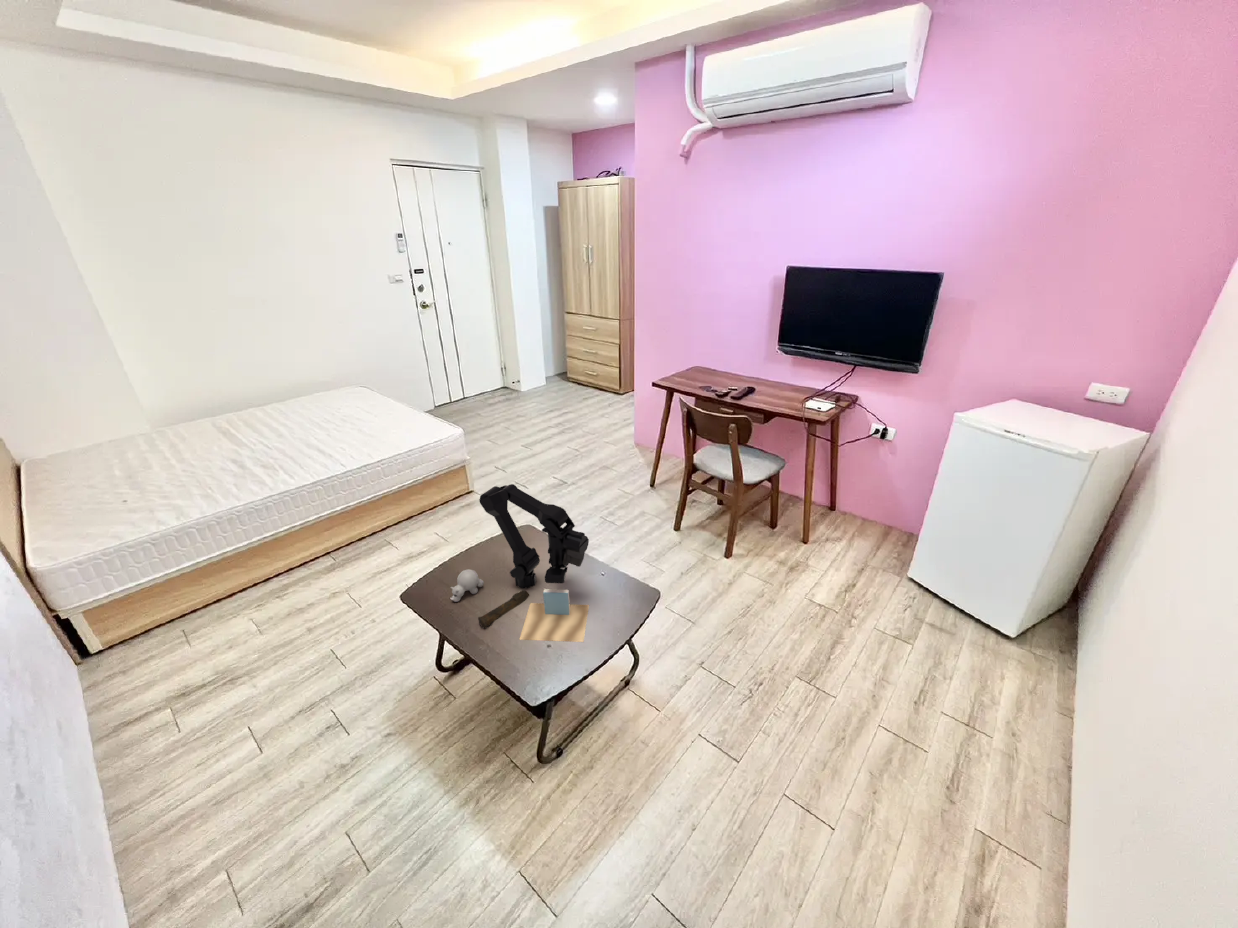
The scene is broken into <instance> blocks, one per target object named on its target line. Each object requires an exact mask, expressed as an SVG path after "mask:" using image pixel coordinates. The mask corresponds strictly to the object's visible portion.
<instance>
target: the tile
mask: <svg viewBox="0 0 1238 928" xmlns="http://www.w3.org/2000/svg"><path fill="white" fill-rule="evenodd" d="M542 594H543V603H544V606H545V614H557V615H569V614H570V603H571V602H570V590H569V589H552V588H550V589H548V588H545V589H543V593H542Z"/></svg>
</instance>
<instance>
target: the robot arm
mask: <svg viewBox="0 0 1238 928" xmlns="http://www.w3.org/2000/svg"><path fill="white" fill-rule="evenodd" d="M478 502H479V504H480V505H481V507H482V508H483V510H484V511H485V513H486V514H488V515H490V516H492V517H494V520H495V521H496V523H497V525H498V527H499V528H500V531H501V532H502V534H503V536H504V538H505V540H506V541H507V543H508V546H509V547H510V549H511V551H512V553H513V554H512V555H513V556H512V560H513V561H512V563H513V565H514V567H513V568H512V569H511V570H510V571H509V574H510V577H511V578H514V581H515V587H518V588H520V589H529V588H530V587H535V586H536V583H537V575H536V573H535V568H537V566H539V564H540V561H541V560H540V555H539V554H538V551H537V550H536V548H535V547H530V546H528V545H527V544H526V542H525V540H524V538H523V536H522V535H521V533H520V531H519V529H518V527H517V525H516V523H515V521H514V519H513V517H512V516H511V513H510V512H509V510H508V503H509V502H510V503H511V504H514V505H515V506H516V507H519V508H520V509H522V510H524V511H526V512H527V513H528V514H530V515H532V516H534V517H535V518H537V520H538V522H539V524H540V525H541V526H543V528H542V529H541V532H543V533H545V534H547V538H548V539H547V540H548V541H547V542H548V548H547V554H549V559H548V564H549V565H551V566H549V568H548V569H546V571H545V575H544V582H545V584H564V583H565V581H566V576H567V575H566V574H567V572H568V566H569V564H571V565H573V566H575V567H577V568H578V567H581V566H582V563H583V561H584V560H585V559H584V557H585V553H586V551H587V549H588V547H589V542H590V540H589V538H588V536H587V535H586V533H585V532H582V531H576V530H573V529H574V528H575V526H576V524H575V523H574V522H573V520H572V519H571V517H570V516H569V515H568V512H567V511H566V509H564V508H563V507H561V506H558V505H556V504H550V503H549V504H548V503H545V502H542V501H541V500H539V499H537V498H535V497H534V496H532V495H531V494H528V493H526V492H525V491H524V490H521V489H520V488H518V487H517V486H516V485H515V484H513V483H511V484H510V483H509V484H508V485H506V484H505V485H502V486H497V485H496V486H495V485H494V486H493V487H491V488H489V489H488V490H487V491H485V492H484V493H482V494H481V495H480V497H479V499H478ZM564 524H565V525H564ZM563 525H564V526H563ZM562 526H563V527H562Z"/></svg>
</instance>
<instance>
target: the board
mask: <svg viewBox="0 0 1238 928" xmlns="http://www.w3.org/2000/svg"><path fill="white" fill-rule="evenodd" d="M589 607H590V605H589V604H573V603H571V604H570V614H569V615H557V614H545V606H544V602H543V603H542V602H541V603H539V602H537V603H536V602H530V604H529V606H528V610H527V613H526V616H525V619H524V622H523V623H524V624H523V627H522V628H521V629H522V630H521V633H520V637H519V639H518V640H520V641H544V642H545V641H546V642H548V641H549V642H570V643H571V642H572V643H573V642H574V643H576V642H577V643H584V641H585V637H586V636H585V634H586V629H587V622H588V614H589Z"/></svg>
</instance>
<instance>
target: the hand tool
mask: <svg viewBox="0 0 1238 928" xmlns="http://www.w3.org/2000/svg"><path fill="white" fill-rule="evenodd" d="M528 597H530V593H529V591H527V590H520V591H518V592H517V593H514V594H513V595H512V597H511V598H510V599H509V600H507V601H505V602H504V603H502V604H500V605H498V606H497V607H496V608H494V609H492V610H490V611H489V612H487V613H486V614H485V613H484V614H483V615H482V616H478V617H477V618H478V624H479V625H480V626H481V628H482V629H484V630H486V628H487V627H490V625H492V624H493V623H494V622H495V621H496V620H498V619H499V618H501V617H503V615H505V614H507V613H508V612H510V611H512V610H513V609H514V608H516V607H518V606H519V605H521V604H522V603H523V602H525V601H526V600H527V599H528Z"/></svg>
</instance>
